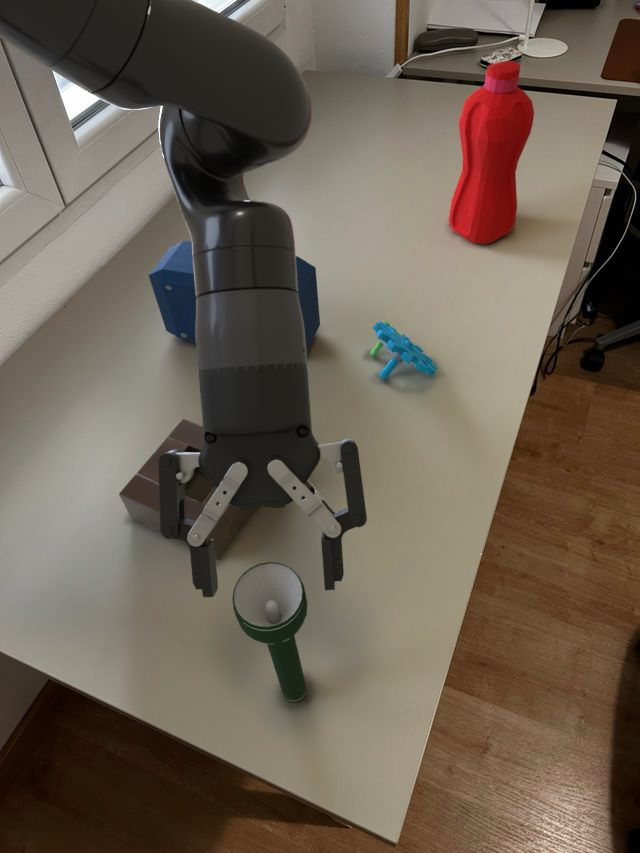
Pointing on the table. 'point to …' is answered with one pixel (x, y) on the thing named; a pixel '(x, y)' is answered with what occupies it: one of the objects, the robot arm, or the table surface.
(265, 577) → the flashlight
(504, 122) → the water bottle
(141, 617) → the table surface
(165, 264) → the radio
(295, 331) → the robot arm
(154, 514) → the holder
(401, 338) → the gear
